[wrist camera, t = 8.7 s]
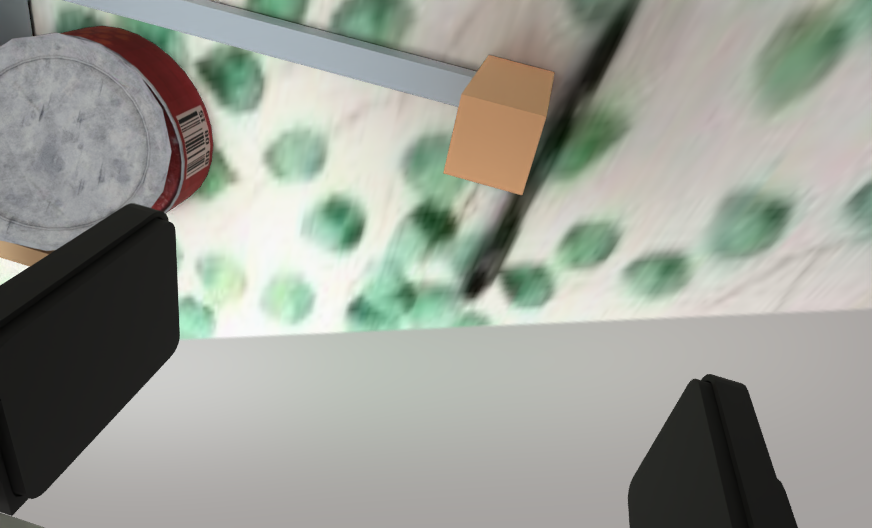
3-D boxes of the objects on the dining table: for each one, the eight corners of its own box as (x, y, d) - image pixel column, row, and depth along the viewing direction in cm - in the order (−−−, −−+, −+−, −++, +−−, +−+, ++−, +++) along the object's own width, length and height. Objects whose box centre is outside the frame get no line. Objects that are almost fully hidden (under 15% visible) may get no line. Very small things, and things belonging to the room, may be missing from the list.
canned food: (100, 59, 36) (-92, -7, 27) (240, 47, 33) (75, -35, 23) (97, 247, 37) (-93, 246, 27) (235, 254, 33) (71, 255, 24)
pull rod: (554, 72, 26) (546, 116, 20) (479, 318, 34) (457, 404, 28) (-12, -77, 28) (-169, -76, 22) (32, 185, 36) (-78, 239, 30)
